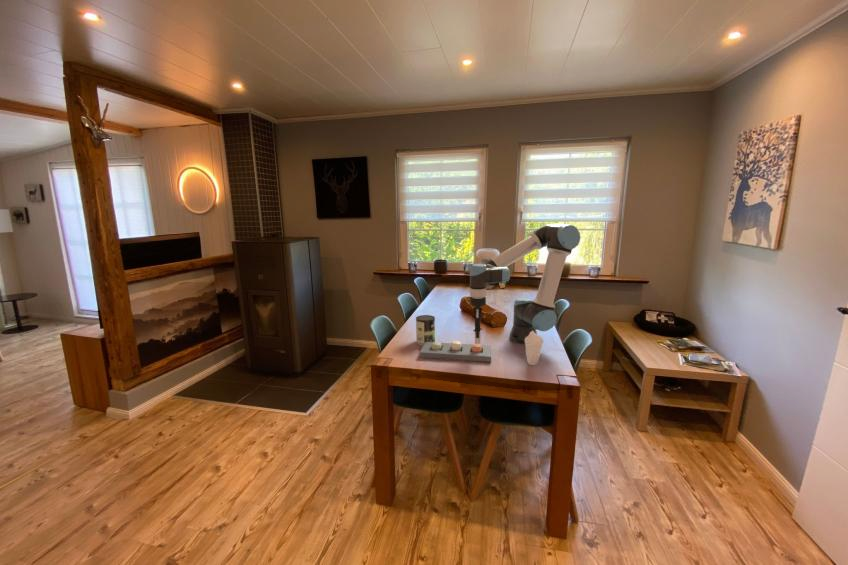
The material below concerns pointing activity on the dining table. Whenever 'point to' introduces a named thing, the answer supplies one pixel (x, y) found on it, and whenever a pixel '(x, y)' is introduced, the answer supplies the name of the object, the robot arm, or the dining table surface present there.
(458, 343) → the cream button
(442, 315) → the dining table surface
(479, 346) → the terracotta button
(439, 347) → the sage button
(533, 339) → the soft serve ice cream cone
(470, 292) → the robot arm
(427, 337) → the coffee can
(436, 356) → the button panel
